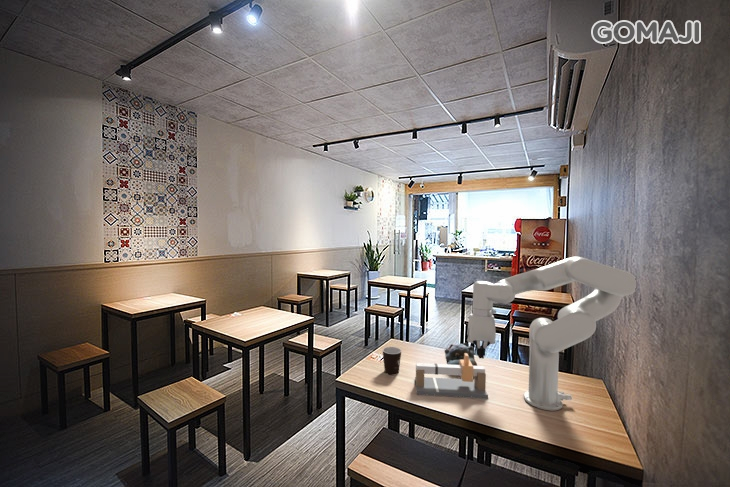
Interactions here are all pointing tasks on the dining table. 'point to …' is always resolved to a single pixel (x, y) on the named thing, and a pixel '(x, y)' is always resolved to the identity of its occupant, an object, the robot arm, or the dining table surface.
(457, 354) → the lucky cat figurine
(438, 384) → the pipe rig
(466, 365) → the orange stepped block
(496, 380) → the dining table surface
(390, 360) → the coffee mug
